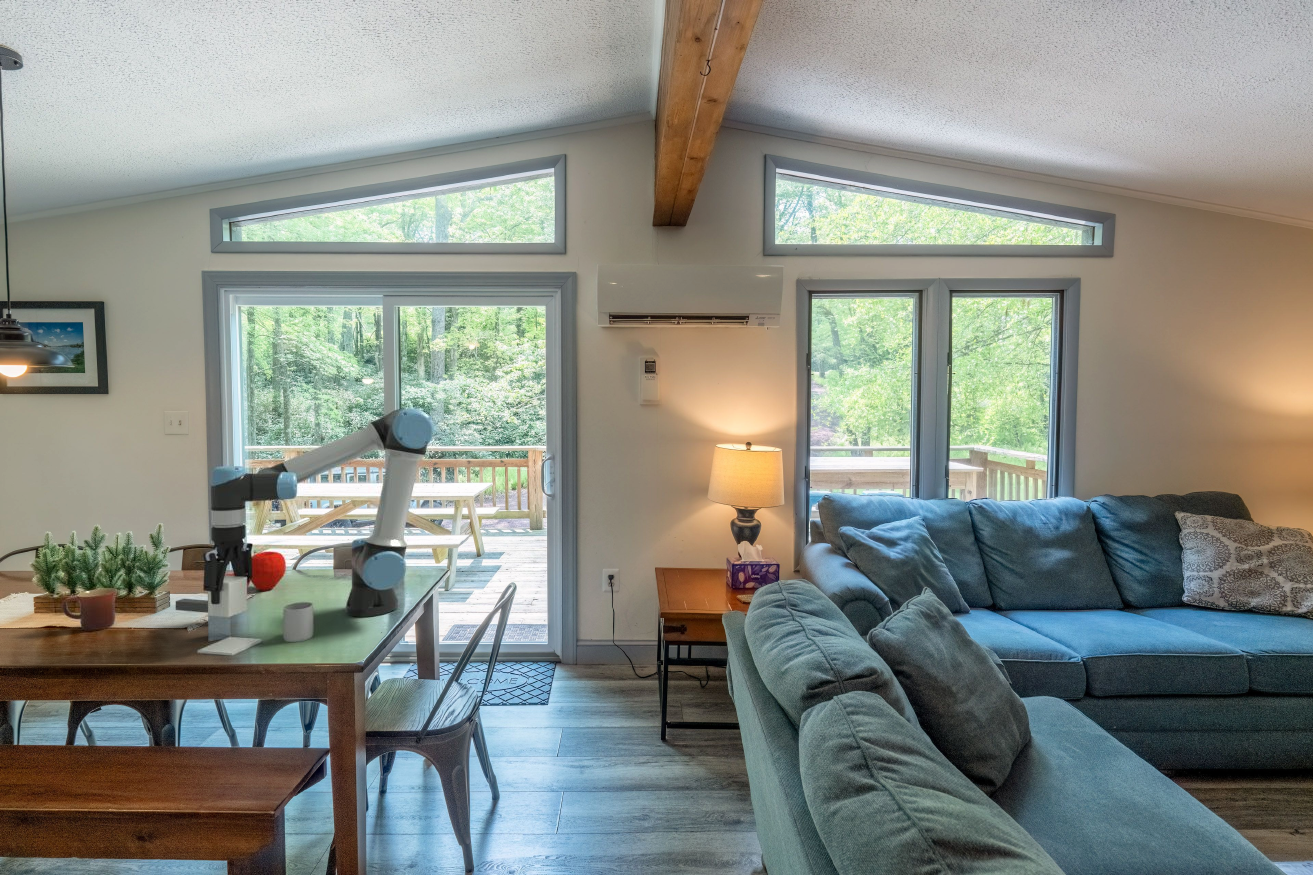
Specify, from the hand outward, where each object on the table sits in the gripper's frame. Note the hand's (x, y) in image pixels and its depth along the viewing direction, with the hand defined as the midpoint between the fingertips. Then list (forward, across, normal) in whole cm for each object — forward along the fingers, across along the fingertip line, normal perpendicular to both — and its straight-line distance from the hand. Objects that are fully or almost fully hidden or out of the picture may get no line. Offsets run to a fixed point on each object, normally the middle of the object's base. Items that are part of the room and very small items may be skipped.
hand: (229, 611), depth 166 cm
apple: (+10, -50, -31) cm, 59 cm away
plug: (0, 0, -6) cm, 6 cm away
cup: (+10, -11, +12) cm, 19 cm away
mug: (+10, -6, -50) cm, 51 cm away
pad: (+10, 0, 0) cm, 10 cm away
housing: (+10, -12, -14) cm, 20 cm away
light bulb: (+10, -34, -29) cm, 45 cm away
